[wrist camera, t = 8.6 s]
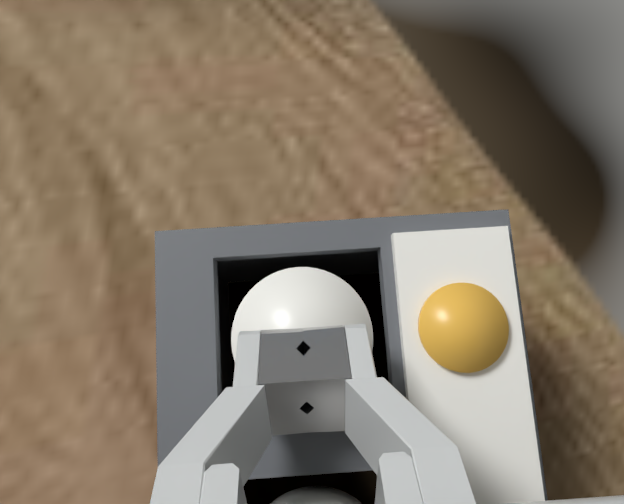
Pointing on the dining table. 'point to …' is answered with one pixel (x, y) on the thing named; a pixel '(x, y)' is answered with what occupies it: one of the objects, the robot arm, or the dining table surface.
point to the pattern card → (469, 355)
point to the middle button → (316, 496)
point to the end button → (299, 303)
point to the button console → (254, 267)
